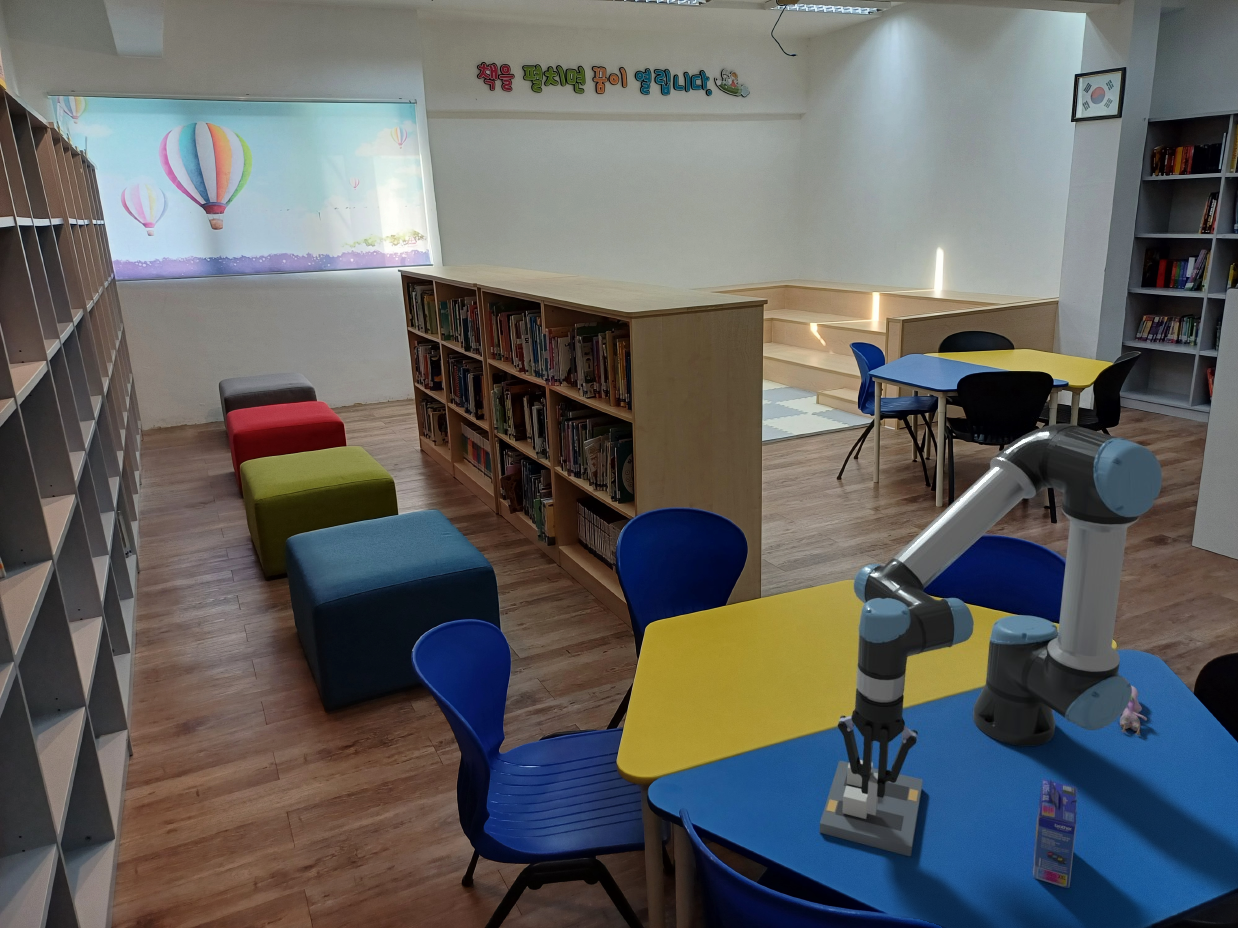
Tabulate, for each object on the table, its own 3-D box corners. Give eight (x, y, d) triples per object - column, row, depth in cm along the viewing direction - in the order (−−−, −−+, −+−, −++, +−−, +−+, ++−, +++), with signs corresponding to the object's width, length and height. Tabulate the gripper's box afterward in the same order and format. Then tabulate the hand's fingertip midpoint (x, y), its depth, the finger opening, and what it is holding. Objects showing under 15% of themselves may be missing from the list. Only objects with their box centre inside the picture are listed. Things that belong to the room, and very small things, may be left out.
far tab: (871, 778, 157) (872, 762, 156) (869, 788, 154) (870, 772, 153) (849, 773, 158) (850, 757, 157) (846, 783, 156) (847, 767, 155)
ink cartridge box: (1033, 837, 145) (1043, 765, 140) (1070, 847, 142) (1081, 774, 138) (1030, 878, 136) (1040, 802, 132) (1069, 889, 134) (1081, 813, 129)
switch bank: (921, 788, 157) (922, 778, 156) (910, 856, 142) (911, 846, 141) (838, 769, 163) (839, 760, 162) (819, 832, 148) (820, 822, 147)
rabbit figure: (1147, 743, 169) (1140, 693, 181) (1152, 721, 166) (1144, 671, 178) (1111, 736, 172) (1106, 687, 184) (1116, 714, 169) (1110, 665, 181)
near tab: (868, 807, 150) (869, 790, 149) (866, 818, 147) (867, 801, 146) (845, 801, 151) (846, 785, 150) (842, 812, 149) (843, 796, 148)
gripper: (923, 686, 141) (913, 804, 148) (843, 671, 146) (837, 786, 153) (919, 710, 135) (909, 833, 142) (835, 694, 140) (829, 813, 147)
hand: (872, 808), depth 148 cm, fingers closed
